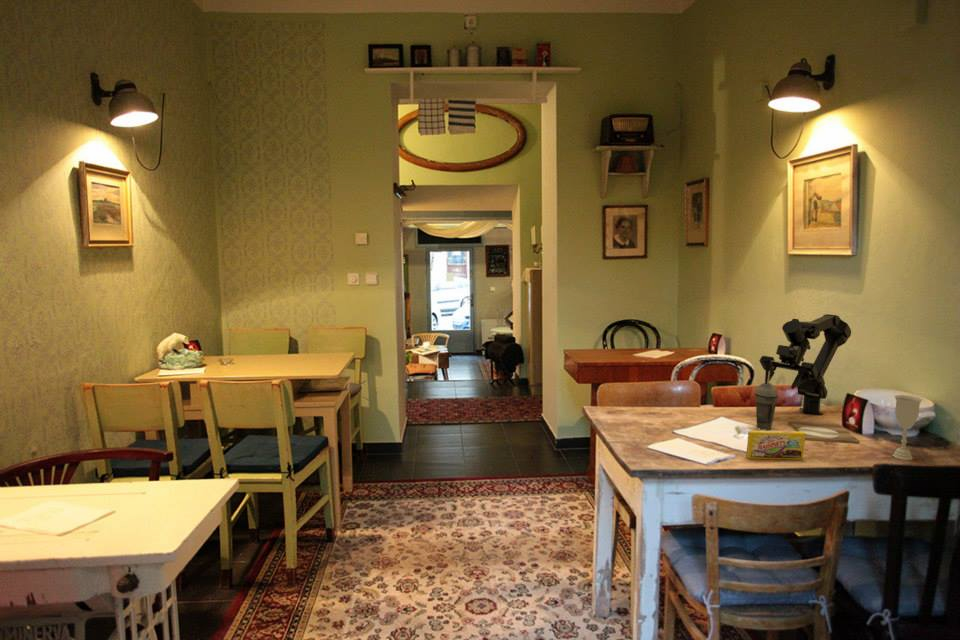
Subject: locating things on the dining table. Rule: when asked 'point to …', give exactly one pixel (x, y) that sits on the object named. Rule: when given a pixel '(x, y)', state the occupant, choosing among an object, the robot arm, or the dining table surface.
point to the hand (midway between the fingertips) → (778, 385)
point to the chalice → (906, 421)
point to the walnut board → (824, 431)
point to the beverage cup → (765, 404)
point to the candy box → (775, 445)
